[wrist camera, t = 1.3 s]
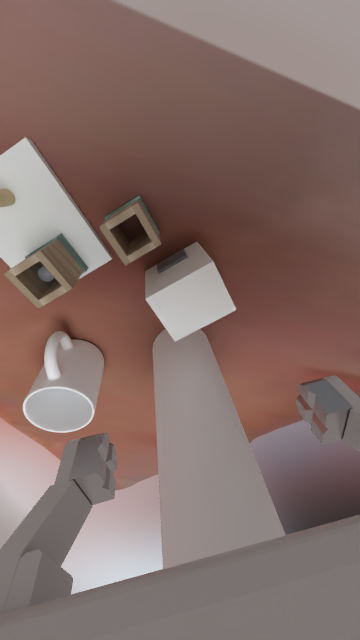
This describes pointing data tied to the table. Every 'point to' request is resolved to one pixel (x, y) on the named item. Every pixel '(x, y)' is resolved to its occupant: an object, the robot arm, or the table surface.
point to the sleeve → (118, 238)
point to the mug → (65, 385)
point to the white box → (187, 291)
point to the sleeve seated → (58, 263)
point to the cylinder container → (204, 458)
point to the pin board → (40, 211)
